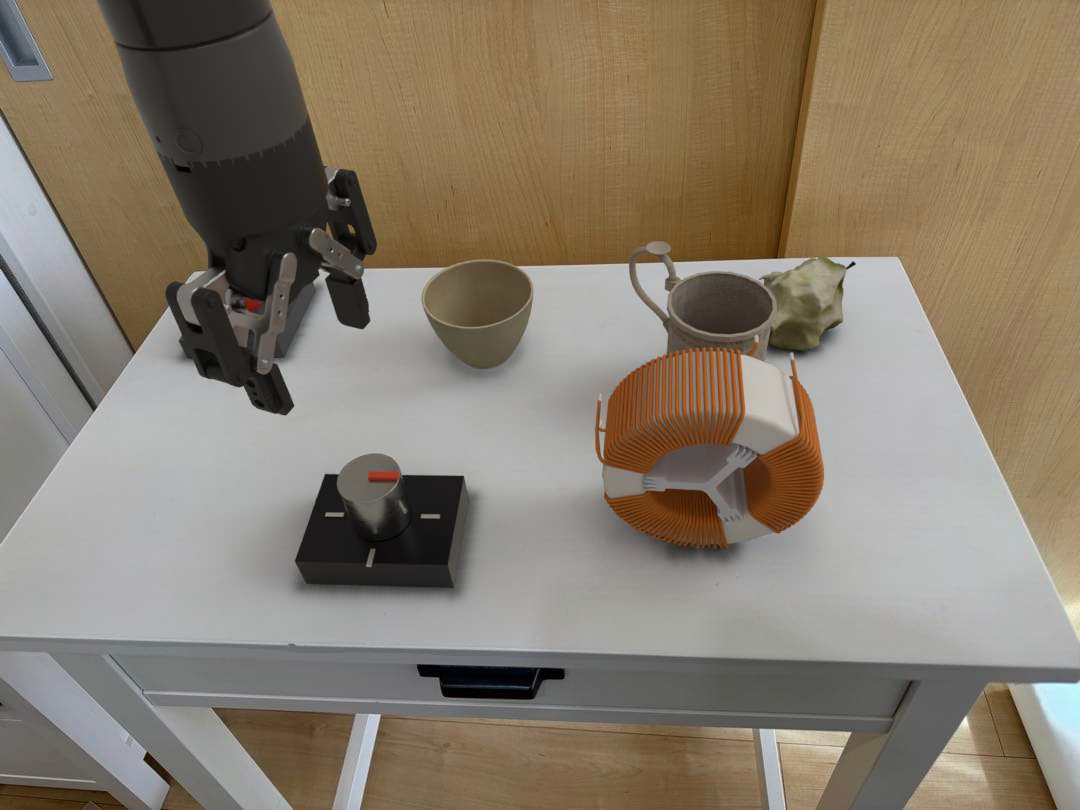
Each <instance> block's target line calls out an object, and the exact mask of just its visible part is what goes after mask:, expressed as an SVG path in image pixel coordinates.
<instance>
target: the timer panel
mask: <svg viewBox="0 0 1080 810" xmlns="http://www.w3.org/2000/svg"><path fill="white" fill-rule="evenodd" d="M338 476H339V473H325V474H324V476H323V479H322V481H321V484H320V487H319V490H318V493H317V496H316V499H315V502H314V504H313V507H312V510H311V513H310V516H309V518H308V522H307V525H306V526H305V530H304V533H303V536H302V538H301V541H300V544H299V546H298V550H297V553H296V556H295V558H294V563H295V565H296V567H297V569H298V571H299V573H300V574H301V576H302V578H303V580H304V582H305V584H306V585H332V586H333V585H334V586H360V587H361V586H363V587H365V586H367V587H368V586H369V587H402V588H405V587H407V588H436V589H455V584H456V579H457V572H458V568H459V561H460V556H461V549H462V544H463V537H464V532H465V527H466V520H467V514H468V510H469V503H470V497H469V493H468V488H467V483H466V478H465V475H446V474H445V475H442V474H441V475H440V474H439V475H438V474H437V475H436V474H433V475H432V474H402V477H403V481H404V484H405V487H406V490H407V494H408V497H409V500H410V503H411V507H412V517H411V520H410V522H409V524H408V525H407V527H406V528H405V529H404V530H403V531H402V532H401V533H399V534H398V535H396V536H394V537H392V538H390V539H387V540H382V541H371V540H367V539H364V538H362V537H361V536H359V535H358V534H357V533H356V531H355V530H354V528H353V525H352V523H351V520H350V518H349V516H348V513H347V511H346V508H345V506H344V503H343V501H342V498H341V496H340V493H339V491H338V488H337V479H338Z"/></svg>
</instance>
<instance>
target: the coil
mask: <svg viewBox="0 0 1080 810" xmlns="http://www.w3.org/2000/svg"><path fill="white" fill-rule="evenodd" d="M754 340H755V345H754V347H753V348H752V349H751V350H750V352H749V353H748V354H747V355H741V353H740V350H736V351H735V352H734V351H733V349H729V350H728V352H727V349H726V348H723V349H722V351H720V348H719V347H717V348H716V349H715V351H713V348H712V347H710V348H709V352H706V348H705V347H703V348H702V352H700V351H699V348H696V349H695V352H693V350H692V349H689V351H688V353H687V352H686V350H682V355H681V354H680V352H679V351H676V352H675V355H674V354H673V353H669V357H668V355H667V353H666V354H663V355H662V356H657V357H656V358H652V359H651V360H650V361H646V362H645V364H644V363H643V364H640V366H639V367H638V366H637V367H636V368H635V369H634V370H632V371H631V372H630V373H629V374H627V375H626V377H623V379H622V380H621V381H620V382H619V383H618V385H616V386H615V388H614V390H613V391H612V393H611V394H610V396H609V398H608V400H607V409H606V418H605V428H603V427H602V426H603V420H600V419H601V409H602V407H601V406H602V398H603V397H602V396H603V394H602V393H598V396H597V404H596V413H595V426H594V433H595V434H594V440H595V441H594V442H595V447H594V448H595V453H596V456H597V459H598V460H599V462H600V463H601V464H602V472H601V478H602V481H603V482H602V483H603V488H604V494H603V498H604V500H605V502H606V503H607V505H608V507H610V509H611V510H612V512H614V513H615V515H616V516H618V518H619V519H620V520H622V521H623V522H624V523H626V524H627V525H628V526H630V527H631V528H633V529H635V530H636V531H639V532H640V533H641V534H644V535H646V536H650V537H651V538H654V539H656V540H660V541H661V542H666V543H668V544H669V543H672V545H675V544H677V545H678V546H681V545H683V546H684V547H687V546H689V548H690V547H691V548H693V547H695V548H699V547H700V546H701V548H702V549H704V548H706V547H707V548H708V549H711V547H712V546H713V548H714V549H717V548H718V546H719V548H720V549H722V548H725V549H728V548H729V547H731V544H735V543H741V542H748V541H752V540H755V539H758V538H761V537H764V536H768V535H771V534H772V533H775V534H781V533H782V532H785V531H786V530H787V529H791V528H792V526H795V525H796V523H798V522H800V521H801V520H803V519H804V517H805V516H807V515H808V513H810V512H811V510H812V509H813V508H814V506H815V504H816V503H817V501H818V500H819V498H820V496H821V494H822V490H823V487H824V482H825V468H824V462H823V456H822V450H821V444H820V438H819V432H818V426H817V421H816V414H815V409H814V406H813V403H812V399H811V398H810V395H809V393H808V392H807V389H806V388H804V387H805V386H803V384H801V381H800V380H799V378H798V372H797V368H796V363H795V356H794V352H790V353H789V361H790V366H791V372H792V375H788V374H786V373H784V372H783V371H781V370H780V369H779V368H777V367H775V366H774V365H772V364H770V363H768V362H765V361H764V362H763V361H760V360H758V359H755V358H752V357H751V356H752V355H753V353H754V352H755V351H756V349H757V348H758V346H759V340H758V335H755V336H754ZM600 432H601V433H604V440H603V451H602V452H603V453H601V443H600ZM602 454H603V455H602Z"/></svg>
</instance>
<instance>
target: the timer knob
mask: <svg viewBox="0 0 1080 810" xmlns="http://www.w3.org/2000/svg"><path fill="white" fill-rule="evenodd" d="M338 474H339V476H338V479H337V488H338V491H339V493H340V496H341V498H342V501H343V503H344V506H345V508H346V511H347V513H348V516H349V518H350V520H351V523H352V525H353V528H354V530H355V531H356V533H357V534H358V535H359V536H361V537H362V538H364V539H367V540H371V541H382V540H387V539H390V538H392V537H394V536H396V535H398V534H399V533H401V532H402V531H403V530H404V529H405V528H406V527H407V525H408V524H409V522H410V520H411V517H412V507H411V503H410V500H409V497H408V494H407V490H406V487H405V484H404V481H403V477H402V475H403V474H402V471H401V467H400V466H399V463H398V462H397V461H396V460H395V459H394V458H393V457H391V456H389V455H387V454H384V453H378V452H377V453H376V452H375V453H374V452H373V453H366V454H363V455H360V456H358V457H355V458H353V459H352V460H350V461H348V462H347V463H346V464H345V465H344V466H343V467H342V469H341V470H340V471H339V473H338Z"/></svg>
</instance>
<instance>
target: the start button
mask: <svg viewBox="0 0 1080 810" xmlns="http://www.w3.org/2000/svg"><path fill="white" fill-rule="evenodd" d="M262 304H263V303H259V302H255V301H253V300H251V299H248V298H246V308H247V310H248V311H252V310H255V309H256V308H258V307H259V306H260V305H262Z"/></svg>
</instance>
